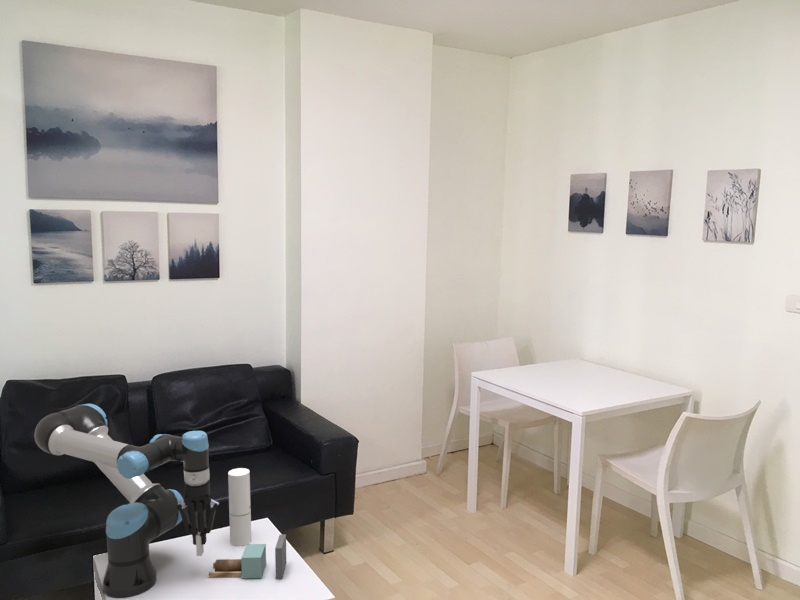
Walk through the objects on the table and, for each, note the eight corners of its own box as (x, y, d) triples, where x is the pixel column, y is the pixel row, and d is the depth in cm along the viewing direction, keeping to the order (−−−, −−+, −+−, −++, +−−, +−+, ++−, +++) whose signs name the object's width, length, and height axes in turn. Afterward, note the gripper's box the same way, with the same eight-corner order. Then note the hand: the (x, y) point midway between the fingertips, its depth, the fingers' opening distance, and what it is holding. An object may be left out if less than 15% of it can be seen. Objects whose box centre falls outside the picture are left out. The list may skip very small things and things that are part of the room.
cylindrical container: (254, 536, 227) (252, 468, 224) (247, 546, 220) (245, 476, 217) (234, 535, 228) (232, 467, 225) (227, 545, 220) (224, 475, 218)
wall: (275, 579, 200) (275, 548, 199) (280, 563, 209) (279, 534, 208) (282, 578, 200) (281, 548, 199) (286, 563, 209) (285, 534, 208)
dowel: (214, 575, 202) (214, 562, 202) (217, 570, 206) (217, 557, 206) (240, 574, 202) (240, 562, 202) (242, 569, 206) (242, 557, 206)
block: (241, 578, 200) (241, 557, 199) (247, 563, 208) (246, 544, 207) (261, 577, 200) (260, 557, 199) (266, 563, 208) (265, 543, 208)
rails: (208, 577, 200) (208, 573, 200) (213, 566, 207) (213, 562, 207) (240, 577, 201) (240, 572, 201) (245, 566, 207) (245, 562, 207)
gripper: (172, 486, 196) (175, 560, 199) (215, 485, 197) (218, 559, 199) (179, 477, 204) (182, 548, 206) (221, 476, 204) (224, 547, 207)
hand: (200, 553), depth 203 cm, fingers closed
